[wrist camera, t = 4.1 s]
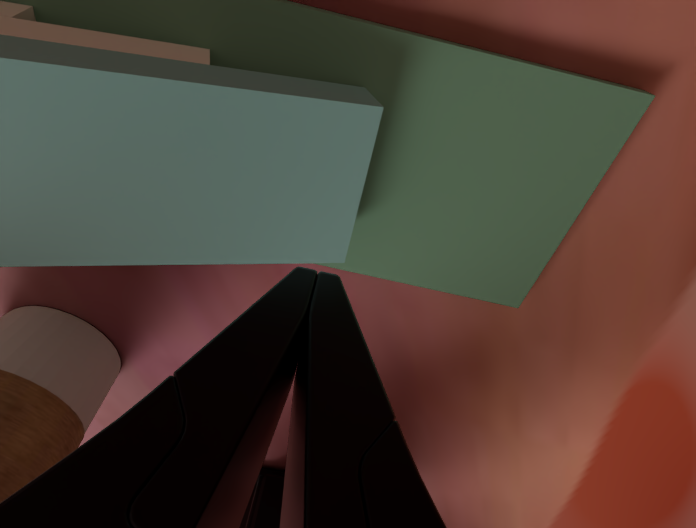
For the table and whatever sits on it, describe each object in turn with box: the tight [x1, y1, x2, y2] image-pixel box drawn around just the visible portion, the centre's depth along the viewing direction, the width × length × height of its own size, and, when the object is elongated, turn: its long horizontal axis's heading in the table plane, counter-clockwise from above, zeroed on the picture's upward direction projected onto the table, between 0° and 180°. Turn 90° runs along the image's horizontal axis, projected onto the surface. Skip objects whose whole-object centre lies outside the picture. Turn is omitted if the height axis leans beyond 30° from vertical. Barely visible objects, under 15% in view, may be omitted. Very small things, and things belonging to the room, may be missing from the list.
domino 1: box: [0, 16, 210, 65], centre depth 10 cm, size 5×2×10 cm
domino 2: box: [0, 34, 384, 267], centre depth 10 cm, size 5×2×10 cm
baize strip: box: [0, 0, 655, 308], centre depth 13 cm, size 8×26×1 cm, turn 79°
